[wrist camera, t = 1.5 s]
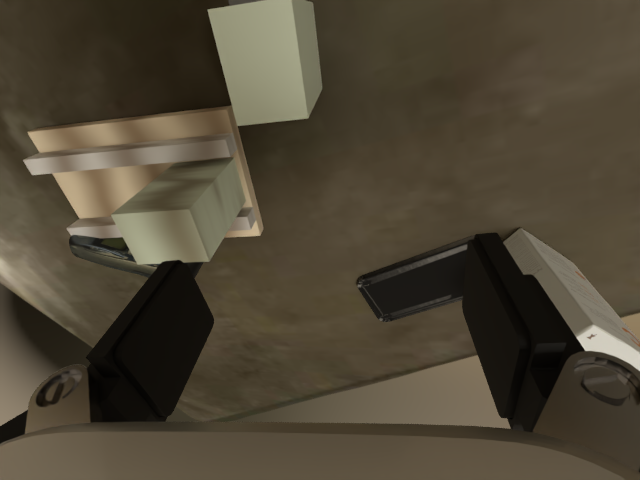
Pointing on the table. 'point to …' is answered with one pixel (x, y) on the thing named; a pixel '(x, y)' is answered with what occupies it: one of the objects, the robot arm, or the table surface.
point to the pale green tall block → (268, 58)
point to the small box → (575, 298)
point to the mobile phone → (115, 255)
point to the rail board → (136, 177)
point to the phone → (417, 282)
